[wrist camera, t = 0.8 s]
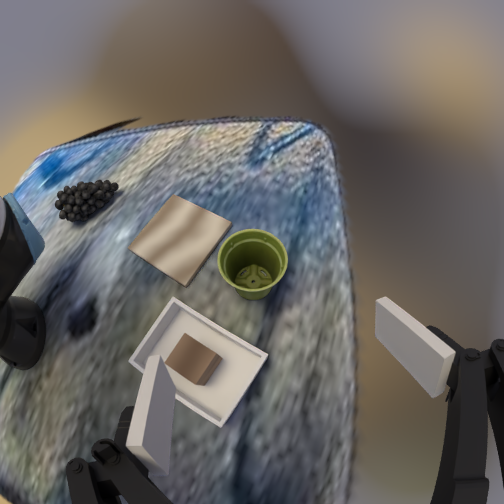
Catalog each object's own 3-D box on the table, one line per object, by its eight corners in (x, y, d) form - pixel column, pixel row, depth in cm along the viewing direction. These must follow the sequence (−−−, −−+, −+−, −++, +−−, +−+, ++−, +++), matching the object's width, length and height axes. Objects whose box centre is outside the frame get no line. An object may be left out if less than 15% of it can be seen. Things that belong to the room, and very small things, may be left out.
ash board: (129, 250, 49) (127, 247, 48) (174, 197, 54) (173, 194, 53) (186, 287, 45) (185, 285, 44) (232, 225, 50) (231, 222, 50)
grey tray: (140, 364, 39) (128, 361, 35) (180, 305, 44) (173, 296, 40) (225, 423, 35) (221, 427, 31) (267, 358, 39) (268, 354, 35)
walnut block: (177, 367, 38) (164, 362, 33) (194, 340, 40) (184, 332, 35) (204, 385, 37) (195, 384, 31) (222, 358, 39) (216, 353, 33)
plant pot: (253, 246, 48) (251, 217, 41) (294, 281, 45) (301, 256, 37) (213, 283, 45) (203, 259, 38) (254, 322, 42) (253, 305, 34)
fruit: (106, 158, 49) (47, 189, 46) (115, 190, 48) (52, 222, 44) (118, 176, 57) (64, 203, 54) (127, 206, 56) (71, 234, 53)
